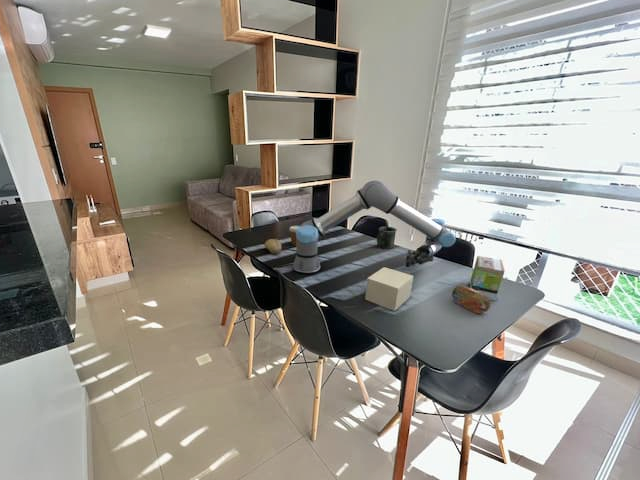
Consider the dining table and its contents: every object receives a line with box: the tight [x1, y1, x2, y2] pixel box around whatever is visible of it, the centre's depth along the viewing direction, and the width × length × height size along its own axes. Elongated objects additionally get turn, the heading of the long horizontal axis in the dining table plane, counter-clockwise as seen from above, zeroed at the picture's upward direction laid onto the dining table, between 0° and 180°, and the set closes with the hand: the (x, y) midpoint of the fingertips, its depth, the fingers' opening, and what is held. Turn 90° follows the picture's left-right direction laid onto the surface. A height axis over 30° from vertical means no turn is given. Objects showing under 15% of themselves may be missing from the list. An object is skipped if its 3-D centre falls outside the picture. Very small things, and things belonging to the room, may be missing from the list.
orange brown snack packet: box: [451, 285, 492, 314], centre depth 121 cm, size 15×3×8 cm, turn 23°
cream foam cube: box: [364, 266, 414, 312], centre depth 128 cm, size 16×14×11 cm
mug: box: [376, 226, 397, 250], centre depth 189 cm, size 11×15×12 cm
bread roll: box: [264, 238, 283, 255], centre depth 186 cm, size 10×15×8 cm, turn 28°
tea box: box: [469, 255, 505, 301], centre depth 132 cm, size 15×10×15 cm
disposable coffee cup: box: [288, 225, 301, 247], centre depth 197 cm, size 10×10×12 cm
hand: (407, 264), depth 139 cm, fingers closed
